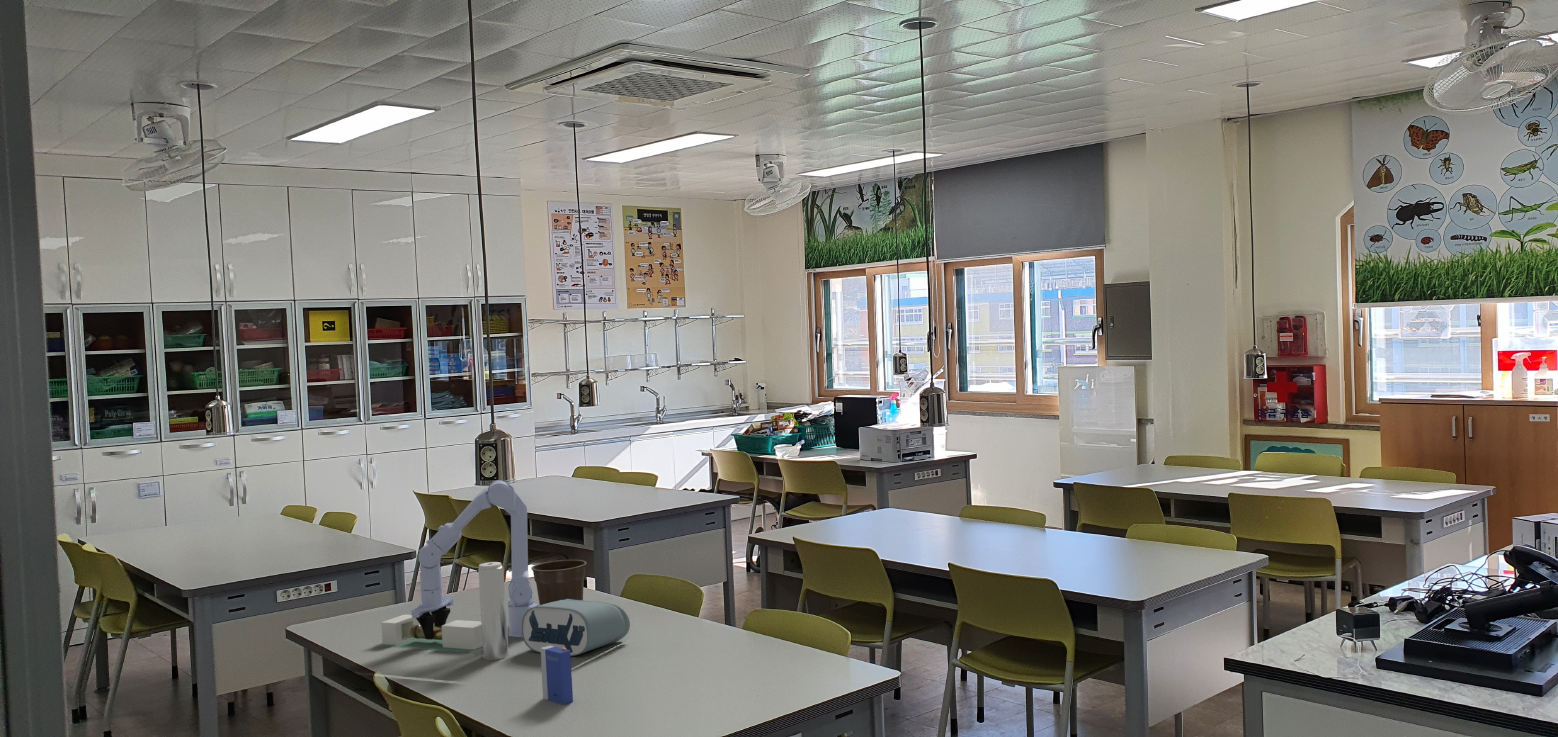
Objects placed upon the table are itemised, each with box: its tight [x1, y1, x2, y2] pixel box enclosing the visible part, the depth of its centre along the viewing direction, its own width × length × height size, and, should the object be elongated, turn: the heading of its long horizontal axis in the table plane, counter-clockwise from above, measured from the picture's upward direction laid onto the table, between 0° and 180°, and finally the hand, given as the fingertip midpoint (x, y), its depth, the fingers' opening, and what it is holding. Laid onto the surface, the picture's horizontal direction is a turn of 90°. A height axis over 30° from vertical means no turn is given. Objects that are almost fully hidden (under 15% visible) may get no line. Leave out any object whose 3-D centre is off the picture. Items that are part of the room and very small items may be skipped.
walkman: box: [540, 646, 574, 705], centre depth 249 cm, size 8×3×12 cm, turn 47°
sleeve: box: [442, 619, 483, 651], centre depth 300 cm, size 11×6×6 cm, turn 66°
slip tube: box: [410, 624, 442, 640], centre depth 303 cm, size 21×4×4 cm, turn 66°
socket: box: [381, 614, 420, 645], centre depth 309 cm, size 5×9×6 cm, turn 156°
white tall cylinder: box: [477, 561, 510, 661], centre depth 287 cm, size 6×6×25 cm
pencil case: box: [522, 599, 631, 657], centre depth 293 cm, size 22×19×13 cm
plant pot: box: [531, 559, 587, 605], centre depth 328 cm, size 16×16×16 cm
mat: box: [376, 638, 483, 654], centre depth 304 cm, size 32×12×1 cm, turn 66°
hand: (434, 636), depth 304 cm, fingers closed on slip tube, 4 cm apart
